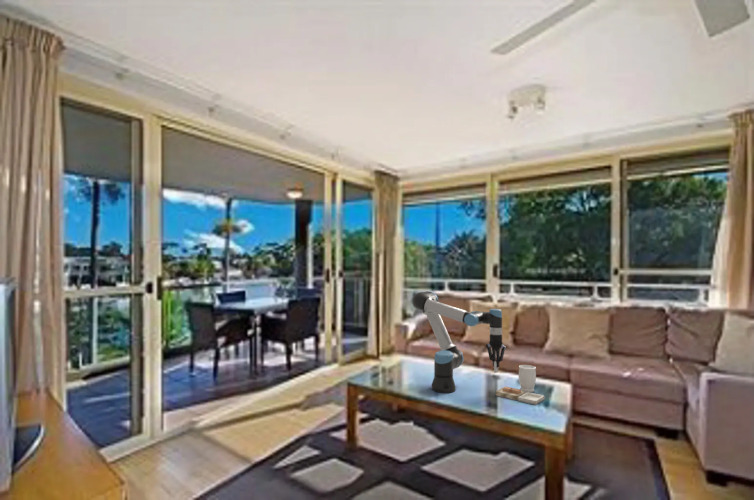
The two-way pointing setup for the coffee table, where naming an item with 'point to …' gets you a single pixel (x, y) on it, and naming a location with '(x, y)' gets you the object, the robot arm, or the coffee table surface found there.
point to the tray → (531, 398)
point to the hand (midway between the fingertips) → (496, 372)
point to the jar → (527, 377)
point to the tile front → (515, 391)
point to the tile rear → (507, 389)
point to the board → (508, 394)
